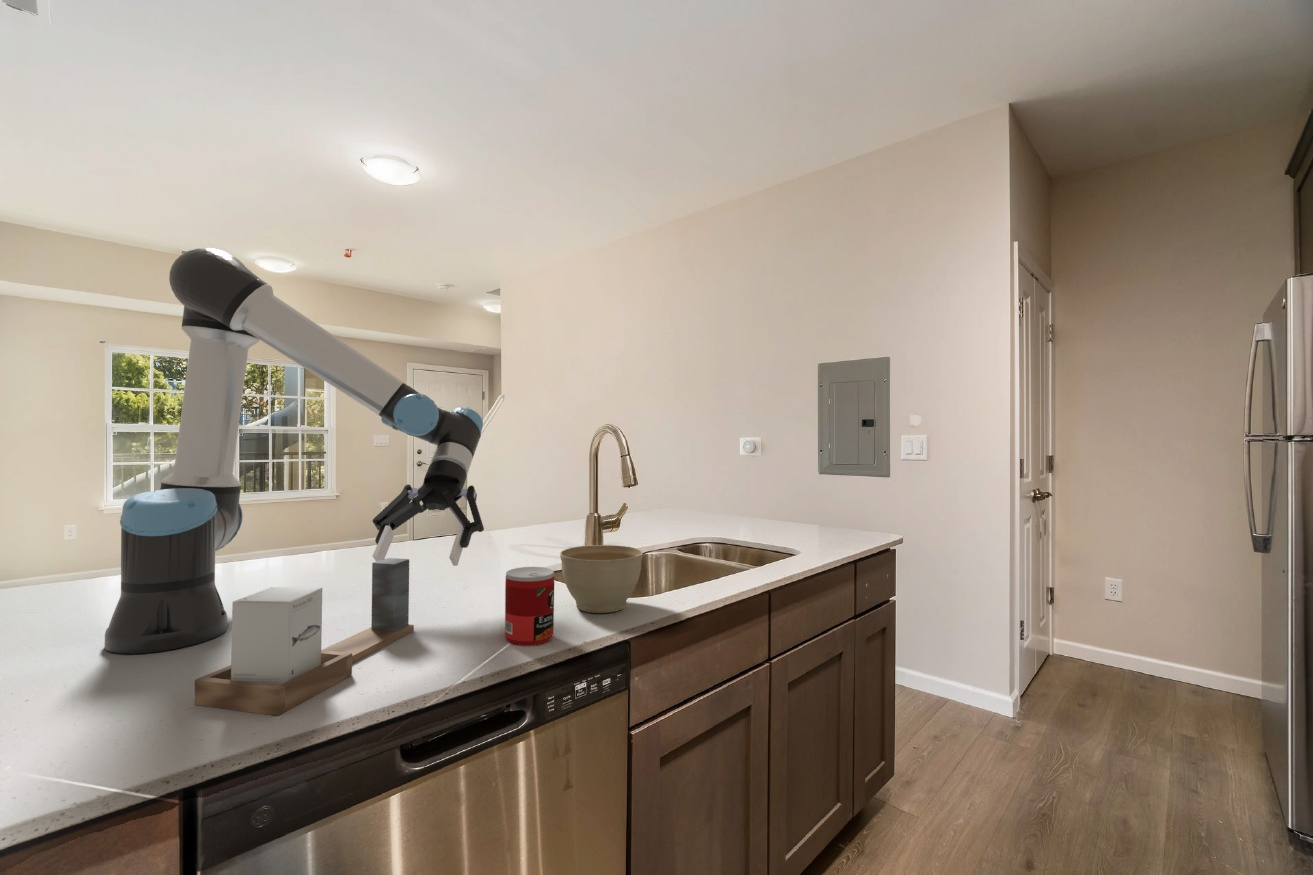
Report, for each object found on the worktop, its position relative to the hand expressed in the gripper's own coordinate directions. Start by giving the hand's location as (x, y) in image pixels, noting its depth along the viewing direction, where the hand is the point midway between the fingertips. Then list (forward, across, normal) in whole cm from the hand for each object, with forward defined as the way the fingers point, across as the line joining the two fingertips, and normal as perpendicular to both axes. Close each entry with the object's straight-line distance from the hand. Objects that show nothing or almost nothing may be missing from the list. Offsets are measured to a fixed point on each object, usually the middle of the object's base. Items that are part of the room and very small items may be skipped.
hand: (415, 561), depth 103 cm
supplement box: (+27, +5, +12) cm, 30 cm away
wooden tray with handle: (+21, +4, +6) cm, 22 cm away
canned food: (+13, -22, -3) cm, 26 cm away
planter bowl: (0, -32, -16) cm, 36 cm away
